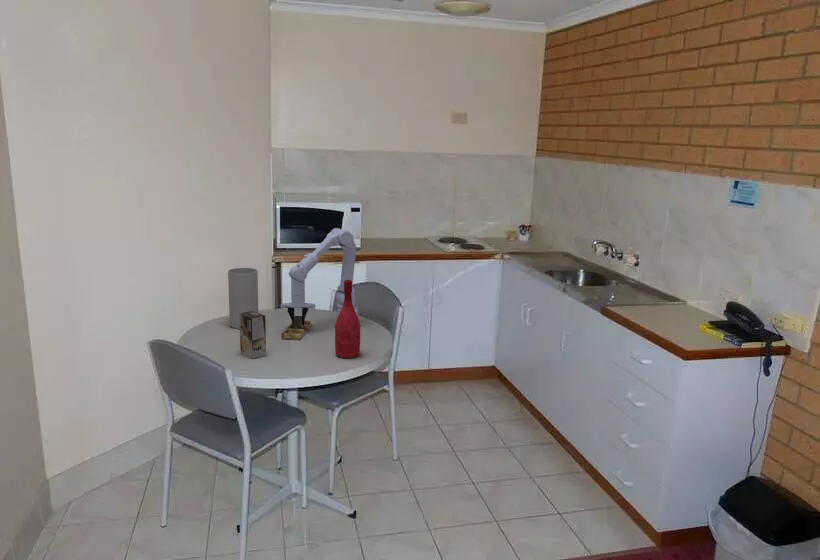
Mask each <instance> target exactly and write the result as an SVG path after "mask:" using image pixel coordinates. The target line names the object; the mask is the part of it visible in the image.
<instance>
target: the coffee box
mask: <svg viewBox="0 0 820 560" xmlns="http://www.w3.org/2000/svg"><path fill="white" fill-rule="evenodd" d="M239 322H240V329H239V341H240V342H239V343H240V346H239V347H240V355H241V354H242V355H244V356H246V357H249V358H251V359H256V358H257V359H258V358H261V357H265V356H267V332H266V331H267V330H266V329H267V328H266V315H265V314H263V313H260V312H258V313H257V312H254V311H250V312H245V313H241V314H239Z"/></svg>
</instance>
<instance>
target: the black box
mask: <svg viewBox="0 0 820 560" xmlns="http://www.w3.org/2000/svg"><path fill="white" fill-rule="evenodd" d="M294 329H303V325H302V315H294Z"/></svg>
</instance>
